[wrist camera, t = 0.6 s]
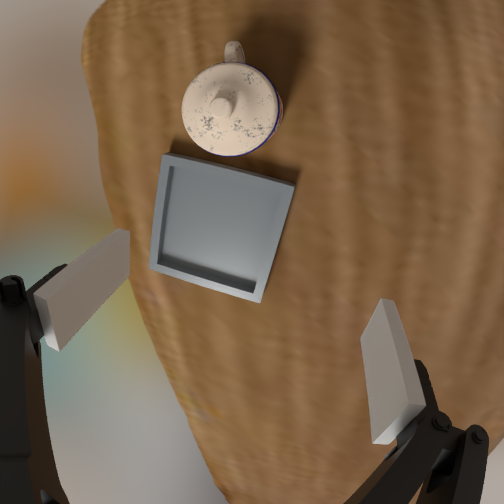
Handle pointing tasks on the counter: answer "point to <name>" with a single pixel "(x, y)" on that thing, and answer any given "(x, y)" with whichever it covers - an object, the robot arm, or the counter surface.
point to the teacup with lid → (231, 106)
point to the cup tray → (217, 224)
